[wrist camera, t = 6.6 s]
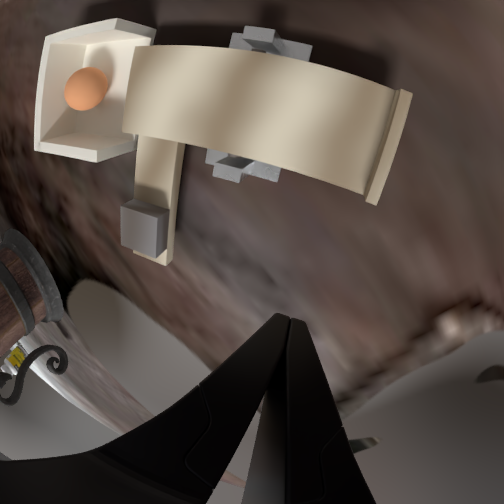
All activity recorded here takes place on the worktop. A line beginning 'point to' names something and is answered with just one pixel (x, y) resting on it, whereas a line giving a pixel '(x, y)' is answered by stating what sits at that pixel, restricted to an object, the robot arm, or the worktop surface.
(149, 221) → the lever
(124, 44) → the tray
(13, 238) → the tankard
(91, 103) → the ball
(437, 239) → the worktop surface
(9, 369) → the supplement bottle
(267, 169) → the fulcrum
